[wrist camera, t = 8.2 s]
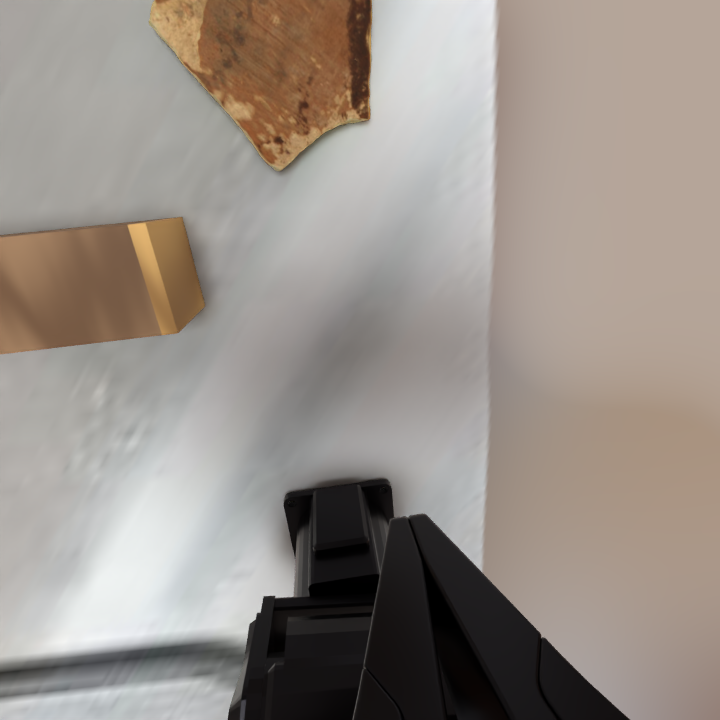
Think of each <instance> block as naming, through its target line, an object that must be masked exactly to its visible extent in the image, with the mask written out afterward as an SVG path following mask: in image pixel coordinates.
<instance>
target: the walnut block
mask: <svg viewBox="0 0 720 720" xmlns="http://www.w3.org/2000/svg"><path fill="white" fill-rule="evenodd" d="M204 307H205V303H204V299H203V295H202V292H201V288H200V284H199V280H198V276H197V272H196V269H195V265H194V261H193V257H192V253H191V249H190V245H189V242H188V238H187V234H186V230H185V226H184V222H183V218H182V217H177V218H168V219H158V220H148V221H138V222H128V223H118V224H108V225H98V226H88V227H78V228H68V229H58V230H48V231H38V232H28V233H18V234H8V235H0V354H7V353H15V352H23V351H32V350H40V349H49V348H57V347H66V346H74V345H82V344H91V343H99V342H108V341H116V340H124V339H133V338H141V337H150V336H158V335H166V334H175V333H179V332H180V331H181V330H182V329H183V328H184V327H185V326H186V325H187V324H188V323H189V322H190V321H191V320H192V319H193V318H194V317H195V316H196V315H197V314H198V313H199V312H200V311H201V310H202V309H203V308H204Z"/></svg>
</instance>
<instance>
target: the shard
mask: <svg viewBox="0 0 720 720" xmlns="http://www.w3.org/2000/svg"><path fill="white" fill-rule="evenodd" d="M149 25H150V26H151V27H152V28H153V29H154V30H155V31H156V32H157V34H158V35H159V36H160V37H161V39H162V40H163V41H164V42H165V43H167V44H168V45H169V47H170V48H171V49H172V50H173V51H174V52H175V53H176V55H177V56H178V58H179V60H180V61H181V63H182V64H183V65H184V66H185V67H186V68H187V69H188V71H189V72H190V73H191V74H192V75H193V76H194V77H195V78H196V79H197V80H198V82H199V83H200V84H201V85H202V86H203V87H204V88H205V89H206V90H207V92H208V93H209V94H210V95H211V96H212V97H213V98H214V99H215V100H216V101H217V102H218V103H219V104H220V105H221V107H222V108H223V109H224V110H225V111H226V112H227V113H228V114H229V115H230V116H231V117H232V118H233V120H234V121H235V123H236V124H237V125H238V126H239V127H240V128H241V129H242V131H243V132H244V134H245V135H246V137H247V138H248V139H249V141H250V142H251V143H252V144H253V145H254V147H255V149H256V150H257V151H258V153H259V155H260V157H261V158H262V159H263V160H264V161H265V162H266V163H267V164H268V165H269V166H271V167H273V168H274V169H275V170H276V171H281V170H282V169H284V168H285V167H286V166H287V165H288V164H290V163H291V162H292V161H293V160H294V159H295V157H296V156H297V155H298V154H299V153H300V152H302V151H303V150H304V149H305V148H306V147H308V146H309V145H310V144H312V143H313V142H314V141H315V140H316V139H317V138H319V137H320V136H321V135H322V134H324V133H325V132H326V131H329V130H331V129H333V128H335V127H337V126H338V125H345V124H348V123H356V122H362V121H366V120H369V119H370V106H369V97H370V89H369V79H370V68H371V25H372V0H155V1H154V2H153V3H152V7H151V13H150V20H149Z"/></svg>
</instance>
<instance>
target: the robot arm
mask: <svg viewBox="0 0 720 720" xmlns="http://www.w3.org/2000/svg"><path fill="white" fill-rule="evenodd" d="M383 487H386V488H385V489H381V488H383ZM289 501H295V502H289ZM284 509H285V514H286V518H287V523H288V527H289V532H290V537H291V541H292V546H293V550H294V555H295V559H296V560H295V580H294V597H286V598H275V596H264V598H263V603H262V609H261V613H257V616H256V620H255V621H253V622H252V623H250V626H249V632H248V639H247V645H246V652H245V657H244V662H243V666H242V669H241V673H240V676H239V679H238V682H237V686H236V689H235V692H234V695H233V699H232V702H231V705H230V709H229V715H228V720H630V719H629V718H628V717H626V716H625V715H624V714H623V713H622V712H621V711H619V709H617V708H616V707H615V706H614V705H613V704H612V703H611V702H610V701H609V700H608V699H607V698H605V697H604V696H603V695H602V694H601V693H600V692H599V691H598V690H597V689H595V688H594V687H593V686H592V685H591V684H590V683H589V682H588V681H587V680H586V679H585V678H584V677H583V676H582V675H581V674H580V673H579V672H578V671H577V670H576V669H575V668H574V667H573V666H572V665H571V664H570V663H569V662H568V661H567V660H566V659H565V658H564V657H563V656H562V655H561V654H560V653H559V652H558V651H557V650H556V649H555V648H554V647H553V646H552V645H551V644H550V643H549V642H548V641H547V639H546V638H543V637H542V638H541V634H540V632H539V631H537V630H536V628H535V627H534V626H533V625H532V624H531V623H530V622H529V621H528V620H527V619H526V618H525V617H524V616H523V615H522V614H521V613H520V612H519V611H518V610H517V608H516V607H514V605H513V604H512V603H511V602H510V601H509V600H508V599H507V598H506V597H505V596H504V595H503V594H502V593H501V592H500V591H499V590H498V589H497V588H496V587H495V586H494V585H493V584H492V582H491V581H490V580H488V578H487V577H486V576H485V575H484V574H483V573H482V572H481V571H480V570H479V569H478V568H477V567H476V566H475V565H474V564H473V563H472V562H471V561H470V560H469V559H468V557H467V556H466V555H465V554H464V553H463V552H462V551H461V550H460V549H459V548H458V547H457V546H456V545H455V544H454V543H453V542H452V541H451V540H450V539H449V538H448V537H447V536H446V535H445V534H444V533H443V531H442V530H441V529H440V528H439V527H438V526H437V525H436V524H435V523H434V522H433V521H432V520H431V519H430V518H429V517H428V516H427V515H426V514H417V515H410V516H409V517H408V518H407V517H406V516H403V517H397V518H394V514H393V499H392V488H391V484H390V482H389V481H388V480H376V481H369V482H362V483H355V484H348V485H341V486H334V487H327V488H320V489H313V490H307V491H300V492H293V493H289V494H287V495H286V496H285V497H284Z"/></svg>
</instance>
